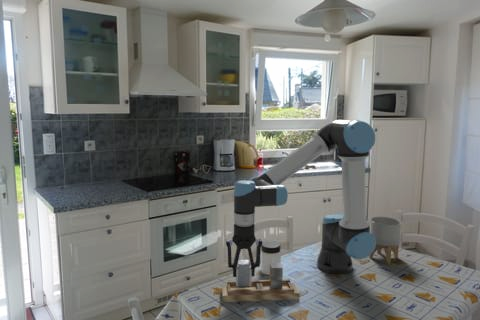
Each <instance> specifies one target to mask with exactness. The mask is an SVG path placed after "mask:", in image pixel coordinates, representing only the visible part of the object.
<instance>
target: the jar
mask: <svg viewBox="0 0 480 320" xmlns="http://www.w3.org/2000/svg"><path fill="white" fill-rule="evenodd" d="M281 249H282V248H281V243H280V242H278V241H275V240H274V241H273V240H267V241H266V240H265V241H262V246H261V250H260V271H261V274H263V275H267V276H270V263H281V261H282V259H281V257H282V256H281V254H282V253H281ZM281 264H282V263H281Z"/></svg>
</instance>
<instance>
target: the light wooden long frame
mask: <svg viewBox="0 0 480 320" xmlns="http://www.w3.org/2000/svg"><path fill="white" fill-rule="evenodd" d="M300 295H301V294H300V291H299V289H298V286H297V285H296V282H291V279H290V278H287V279H283V265H282V263H270V275H269V279H254V280H253V279H252V284H251V286H249V288H238V286H236V280H227V283H226V284H221V298H222V303H234V302H235V303H237V302H242V303H243V302H264V301H265V302H266V301H268V302H269V301H294V300H295V301H297V300H298V301H299V300H300Z"/></svg>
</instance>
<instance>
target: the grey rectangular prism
mask: <svg viewBox="0 0 480 320" xmlns="http://www.w3.org/2000/svg"><path fill="white" fill-rule="evenodd" d="M237 266H238V288H249V282H250V266H251V263H250V259H238V264H237Z"/></svg>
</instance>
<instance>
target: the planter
mask: <svg viewBox="0 0 480 320" xmlns="http://www.w3.org/2000/svg"><path fill="white" fill-rule="evenodd" d="M401 227H402V222H401V220H399V219H397V218H393V217H388V216H374V217H371V218H370V233H371V234H372V235H373V236H374V237H375V240H376V246H375V249H374V251H373V252H372V253H371V254H370V256H368V258H369V259H373V258H374V254H375V253H378V254H381V253H382V249H383V250H384V253H385V262H386V264H391V261H392V253H393V258H395V259H398V258H399V248H400V246H399V245H400V242H401Z"/></svg>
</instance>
